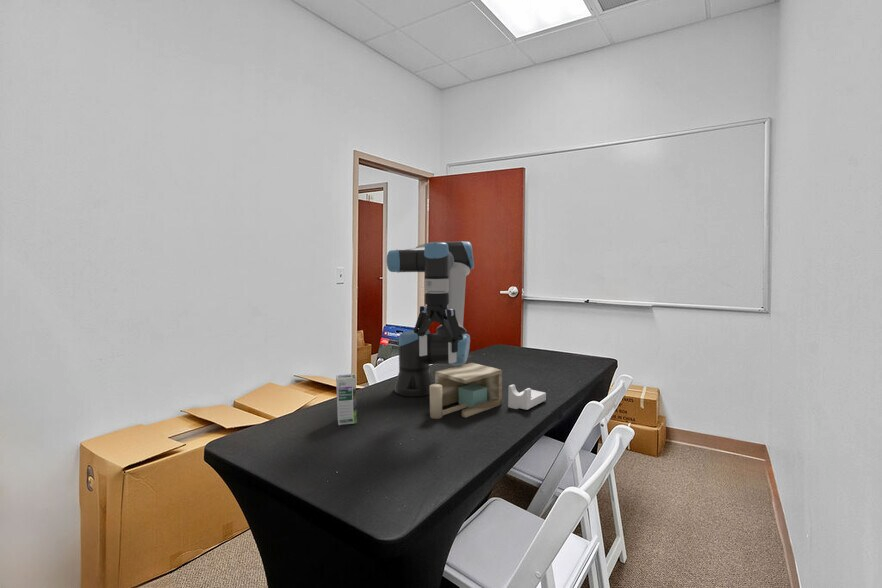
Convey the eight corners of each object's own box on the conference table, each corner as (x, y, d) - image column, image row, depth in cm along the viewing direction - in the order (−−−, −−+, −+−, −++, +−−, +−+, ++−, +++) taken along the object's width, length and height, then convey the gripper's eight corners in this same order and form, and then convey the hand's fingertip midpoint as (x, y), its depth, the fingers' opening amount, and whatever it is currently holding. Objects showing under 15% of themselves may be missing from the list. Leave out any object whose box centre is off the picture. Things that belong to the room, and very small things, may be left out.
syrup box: (338, 425, 131) (336, 379, 130) (337, 418, 137) (336, 374, 136) (357, 423, 133) (356, 377, 131) (355, 417, 138) (354, 372, 137)
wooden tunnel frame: (435, 406, 147) (435, 371, 146) (472, 395, 159) (472, 362, 158) (465, 417, 137) (465, 379, 136) (501, 404, 149) (502, 369, 148)
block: (424, 415, 139) (424, 384, 139) (472, 399, 154) (472, 372, 154) (438, 421, 134) (438, 389, 133) (487, 404, 149) (487, 376, 148)
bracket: (526, 412, 142) (527, 390, 141) (508, 407, 146) (508, 386, 146) (545, 402, 152) (545, 381, 151) (527, 398, 156) (528, 377, 156)
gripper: (402, 290, 141) (403, 354, 143) (456, 295, 123) (457, 368, 125) (420, 289, 147) (420, 351, 148) (474, 293, 128) (474, 363, 130)
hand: (437, 359), depth 137 cm, fingers open, 13 cm apart
